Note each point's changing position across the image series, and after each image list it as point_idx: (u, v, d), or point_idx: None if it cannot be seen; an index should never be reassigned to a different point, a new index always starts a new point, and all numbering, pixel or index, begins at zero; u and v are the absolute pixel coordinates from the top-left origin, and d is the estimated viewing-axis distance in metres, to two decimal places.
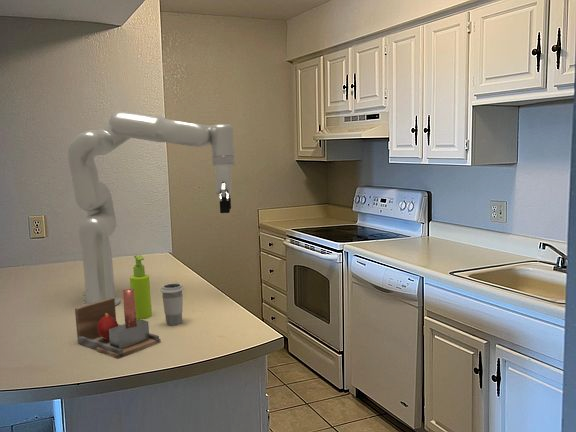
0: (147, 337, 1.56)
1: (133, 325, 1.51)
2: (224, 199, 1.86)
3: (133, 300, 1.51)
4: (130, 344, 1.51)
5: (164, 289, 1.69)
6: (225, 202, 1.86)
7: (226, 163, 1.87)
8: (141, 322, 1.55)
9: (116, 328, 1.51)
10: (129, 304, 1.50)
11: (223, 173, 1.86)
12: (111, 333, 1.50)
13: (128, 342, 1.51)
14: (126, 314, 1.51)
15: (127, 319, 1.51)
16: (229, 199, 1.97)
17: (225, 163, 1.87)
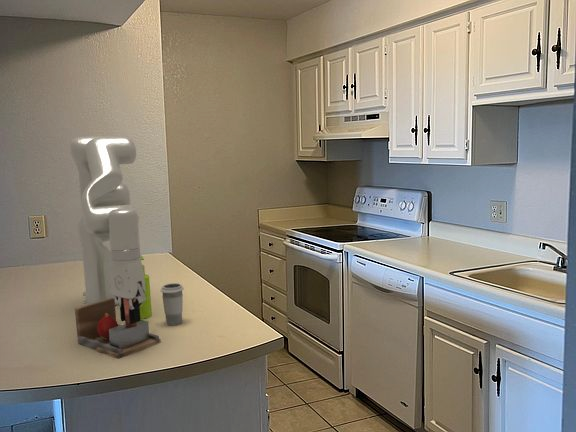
0: (147, 337, 1.56)
1: (133, 325, 1.51)
2: (138, 306, 1.50)
3: (133, 300, 1.51)
4: (130, 344, 1.51)
5: (164, 289, 1.69)
6: (137, 309, 1.50)
7: (138, 257, 1.49)
8: (141, 322, 1.55)
9: (116, 328, 1.51)
10: (129, 304, 1.50)
11: (138, 271, 1.47)
12: (111, 333, 1.50)
13: (128, 342, 1.51)
14: (126, 314, 1.51)
15: (127, 319, 1.51)
16: None
17: (137, 258, 1.48)
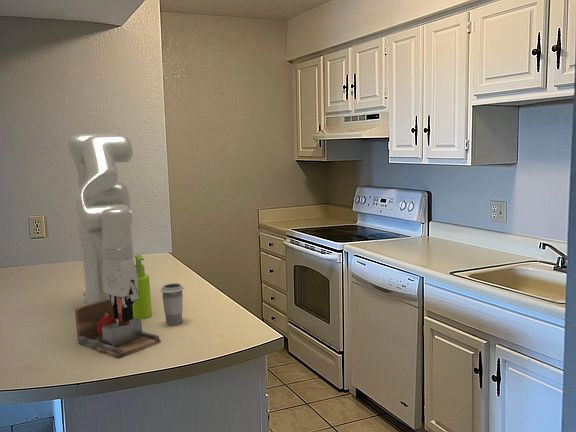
0: (140, 335, 1.58)
1: (126, 323, 1.53)
2: (130, 304, 1.51)
3: (126, 298, 1.53)
4: (123, 342, 1.53)
5: (164, 289, 1.69)
6: (130, 307, 1.52)
7: (130, 256, 1.50)
8: (134, 320, 1.57)
9: (109, 326, 1.53)
10: (122, 303, 1.52)
11: (131, 269, 1.49)
12: (104, 331, 1.52)
13: (121, 340, 1.53)
14: (119, 312, 1.52)
15: (120, 317, 1.53)
16: None
17: (129, 256, 1.50)
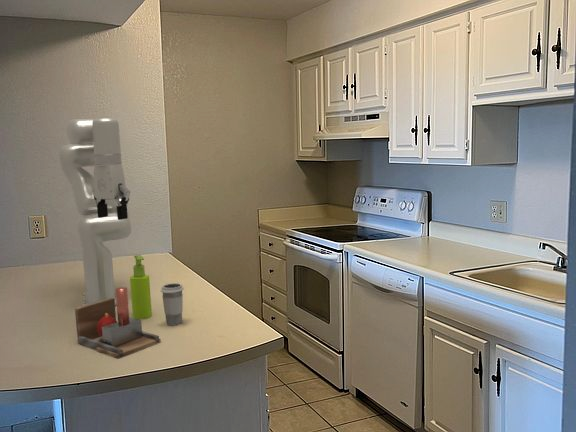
0: (140, 335, 1.58)
1: (126, 323, 1.53)
2: (125, 203, 1.64)
3: (126, 298, 1.53)
4: (123, 342, 1.53)
5: (164, 289, 1.69)
6: (124, 206, 1.64)
7: (119, 162, 1.65)
8: (134, 320, 1.57)
9: (109, 326, 1.53)
10: (122, 303, 1.52)
11: (119, 174, 1.63)
12: (104, 331, 1.52)
13: (121, 340, 1.53)
14: (119, 312, 1.53)
15: (120, 317, 1.53)
16: (106, 205, 1.71)
17: (118, 163, 1.64)
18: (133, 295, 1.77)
